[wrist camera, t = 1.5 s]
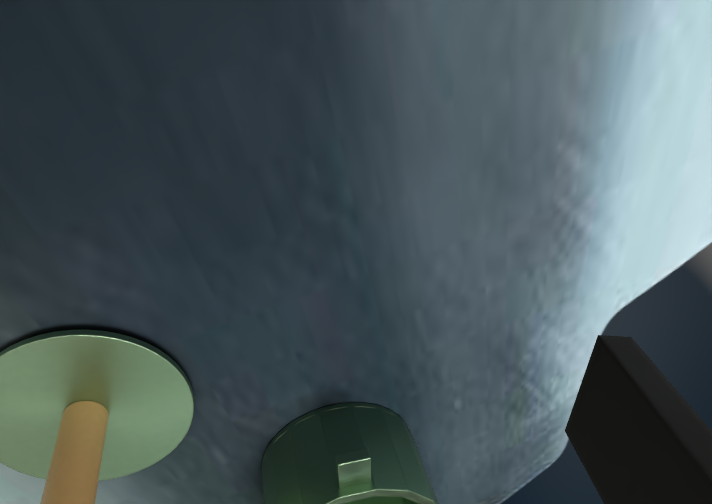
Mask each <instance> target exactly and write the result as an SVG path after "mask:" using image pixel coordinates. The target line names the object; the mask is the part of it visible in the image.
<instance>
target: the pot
mask: <svg viewBox="0 0 712 504" xmlns="http://www.w3.org/2000/svg"><path fill="white" fill-rule="evenodd" d="M261 475H262V484H263V493H264V502H265V504H438V501H437V498H436V496H435V493H434V491H433V488H432V485H431V483H430V480H429V478H428V475H427V472H426V470H425V467H424V465H423V462H422V459H421V457H420V454H419V452H418V449H417V447H416V444H415V441H414V439H413V436H412V434H411V433H410V431H409V429H408V427H407V425H406V423H405V422H404V421H403V419H402V418H401V417H400V416H398V415H397V414H396V413H394V412H393V411H391V410H389V409H387V408H385V407H382V406H379V405H375V404H369V403H358V402H353V403H341V404H334V405H330V406H326V407H323V408H320V409H317V410H314V411H311V412H309V413H307V414H305V415H303V416H301V417H299V418H297V419H296V420H294V421H293V422H291V423H290V424H288V425H287V426H286V427H284V428H283V429H282V430H281V431H280V432H279V433H278V434H277V435H276V436H275V437H274V438H273V439H272V441H271V442H270V444H269V445H268V447H267V449H266V451H265V453H264V456H263V459H262V466H261Z"/></svg>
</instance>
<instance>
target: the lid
mask: <svg viewBox="0 0 712 504" xmlns="http://www.w3.org/2000/svg"><path fill="white" fill-rule="evenodd" d="M193 415H194V396H193V390H192V387H191V384H190V382H189V380H188V378H187V376H186V375H185V373H184V372H183V370H182V369H181V368H180V367H179V365H178V364H177V363H176V362H175V361H174V360H172V359H171V358H170V357H169V356H168V355H166V354H165V353H163V352H162V351H161V350H159V349H158V348H156V347H154V346H152V345H150V344H148V343H146V342H143V341H141V340H138V339H136V338H133V337H130V336H126V335H122V334H119V333H113V332H107V331H99V330H65V331H56V332H51V333H46V334H41V335H38V336H34V337H31V338H28V339H25V340H23V341H20V342H18V343H16V344H14V345H11V346H10V347H8V348H6V349H5V350H3V351H1V352H0V462H1V463H2V464H4V465H6V466H7V467H10V468H12V469H14V470H16V471H19V472H21V473H24V474H27V475H30V476H34V477H38V478H42V479H46V483H45V487H44V491H43V495H42V499H41V503H40V504H95V498H96V492H97V485H98V481H103V480H109V479H115V478H119V477H123V476H126V475H129V474H132V473H135V472H138V471H140V470H143V469H145V468H147V467H149V466H151V465H153V464H155V463H156V462H158V461H160V460H161V459H163V458H164V457H165V456H167V455H168V454H169V453H170V452H172V451H173V450H174V449H175V448H176V447H177V446H178V445H179V443H180V442H181V441H182V440H183V438H184V437H185V435H186V434H187V432H188V430H189V428H190V425H191V423H192V419H193Z"/></svg>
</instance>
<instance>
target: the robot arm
mask: <svg viewBox="0 0 712 504" xmlns="http://www.w3.org/2000/svg"><path fill="white" fill-rule="evenodd" d="M565 432H566V434H567V436H568V438H569V439H570V441H571V443H572V445H573V447H574V449H575V450H576V452H577V454H578V456H579V458H580V460H581V462H582V463H583V465H584V467H585V469H586V471H587V472H588V474H589V476H590V478H591V480H592V482H593V484H594V486H595V487H596V489H597V491H598V493H599V495H600V497H601V499H602V500H603V502H604V504H712V431H711V430H710V428H709V427H708V426H707V425H706V424H705V423H704V421H703V420H702V419H701V418H700V417H699V416H698V414H697V413H696V412H695V411H694V410H693V409H692V407H691V406H690V405H689V404H688V403H687V402H686V400H685V399H684V398H683V397H682V396H681V395H680V394H679V392H678V391H677V390H676V389H675V388H674V387H673V385H672V384H671V383H670V382H669V381H668V380H667V378H666V377H665V376H664V375H663V374H662V373H661V371H660V370H659V369H658V368H657V367H656V366H655V364H654V363H653V362H652V361H651V360H650V359H649V357H648V356H647V355H646V354H645V353H644V352H643V351H642V349H641V348H640V347H639V346H638V345H637V343H636V342H635V341H634V340H633V339H632V338H631V337H618V336H601V335H598V337H597V340H596V343H595V346H594V349H593V352H592V354H591V357H590V360H589V363H588V366H587V369H586V372H585V375H584V377H583V380H582V383H581V386H580V389H579V392H578V395H577V398H576V400H575V403H574V406H573V409H572V412H571V415H570V418H569V421H568V423H567V426H566V429H565Z"/></svg>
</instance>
